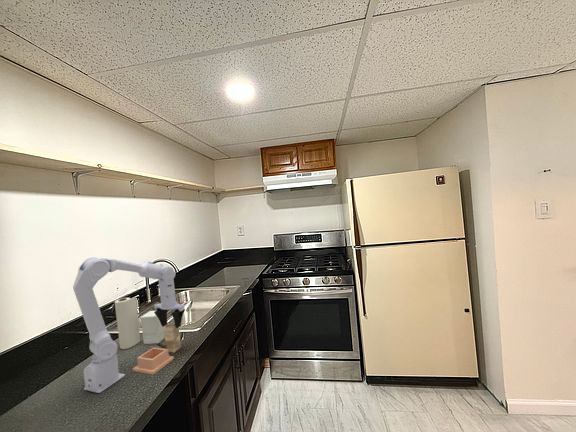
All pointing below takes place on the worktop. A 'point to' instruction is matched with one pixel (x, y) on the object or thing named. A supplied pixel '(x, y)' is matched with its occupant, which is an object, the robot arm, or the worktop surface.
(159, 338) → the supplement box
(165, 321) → the robot arm
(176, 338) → the birch peg
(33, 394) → the worktop surface
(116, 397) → the worktop surface
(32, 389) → the worktop surface
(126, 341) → the paper towel roll
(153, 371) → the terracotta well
